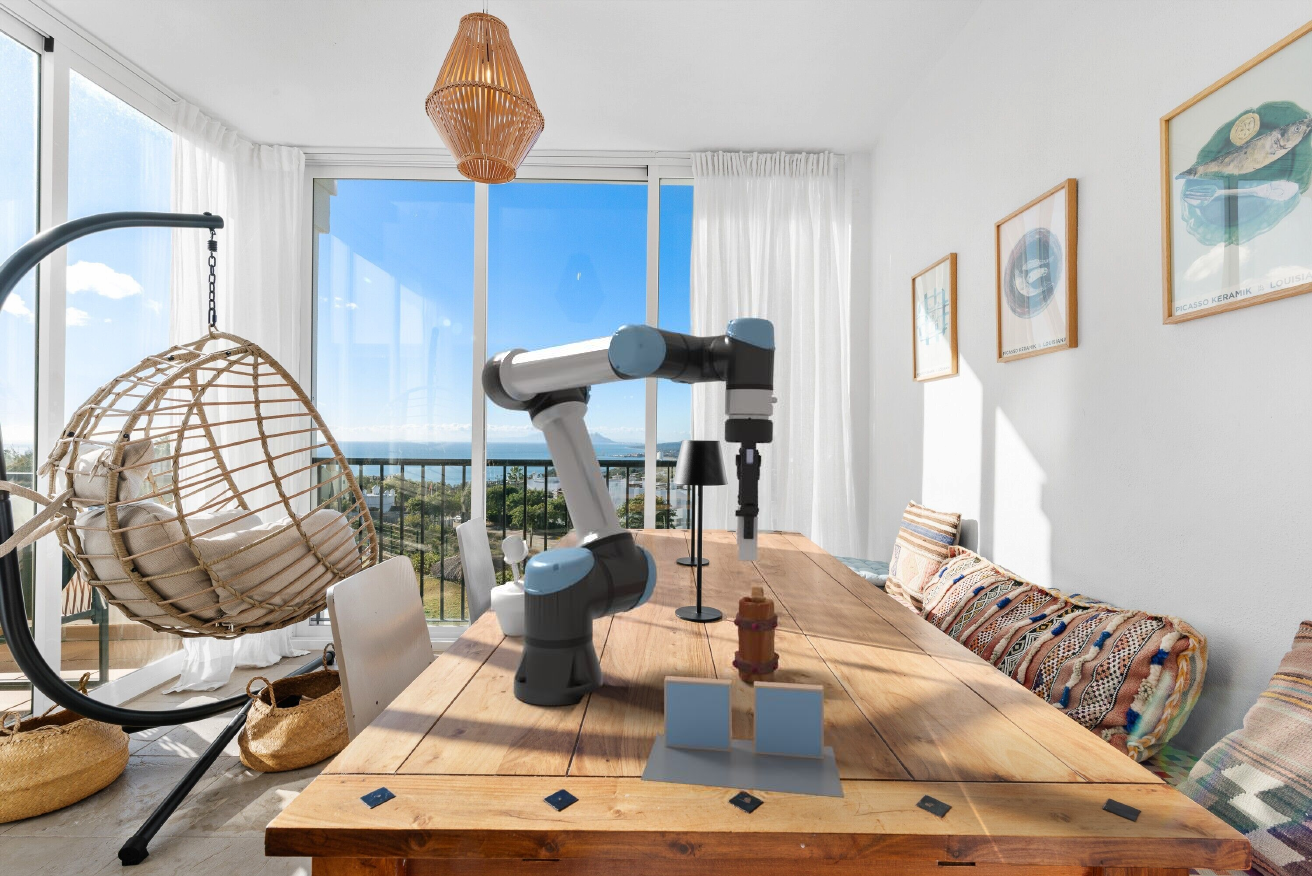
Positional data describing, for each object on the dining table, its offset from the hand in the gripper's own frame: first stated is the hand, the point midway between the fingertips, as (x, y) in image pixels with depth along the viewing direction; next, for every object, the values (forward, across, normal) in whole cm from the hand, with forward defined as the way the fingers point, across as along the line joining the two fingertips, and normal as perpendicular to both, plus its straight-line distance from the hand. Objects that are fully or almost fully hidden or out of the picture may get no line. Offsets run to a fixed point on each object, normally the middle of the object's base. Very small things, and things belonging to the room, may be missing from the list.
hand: (746, 552), depth 105 cm
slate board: (+25, -20, +1) cm, 32 cm away
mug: (+25, +17, -3) cm, 31 cm away
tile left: (+24, -16, +6) cm, 29 cm away
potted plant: (+27, +38, +49) cm, 67 cm away
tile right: (+24, -17, -6) cm, 29 cm away
